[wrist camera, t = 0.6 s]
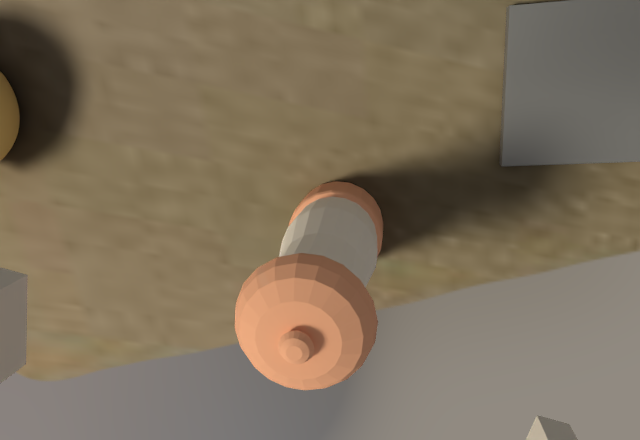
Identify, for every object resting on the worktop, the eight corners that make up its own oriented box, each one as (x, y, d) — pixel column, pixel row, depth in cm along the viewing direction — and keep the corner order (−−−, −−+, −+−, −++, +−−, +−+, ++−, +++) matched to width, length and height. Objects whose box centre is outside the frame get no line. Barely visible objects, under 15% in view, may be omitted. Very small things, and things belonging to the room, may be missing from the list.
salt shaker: (400, 212, 37) (413, 338, 19) (351, 280, 39) (320, 450, 21) (325, 163, 37) (263, 242, 18) (280, 234, 39) (186, 367, 21)
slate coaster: (506, 7, 32) (509, 5, 31) (682, -8, 30) (690, -11, 29) (499, 164, 35) (501, 166, 34) (658, 158, 33) (664, 160, 32)
